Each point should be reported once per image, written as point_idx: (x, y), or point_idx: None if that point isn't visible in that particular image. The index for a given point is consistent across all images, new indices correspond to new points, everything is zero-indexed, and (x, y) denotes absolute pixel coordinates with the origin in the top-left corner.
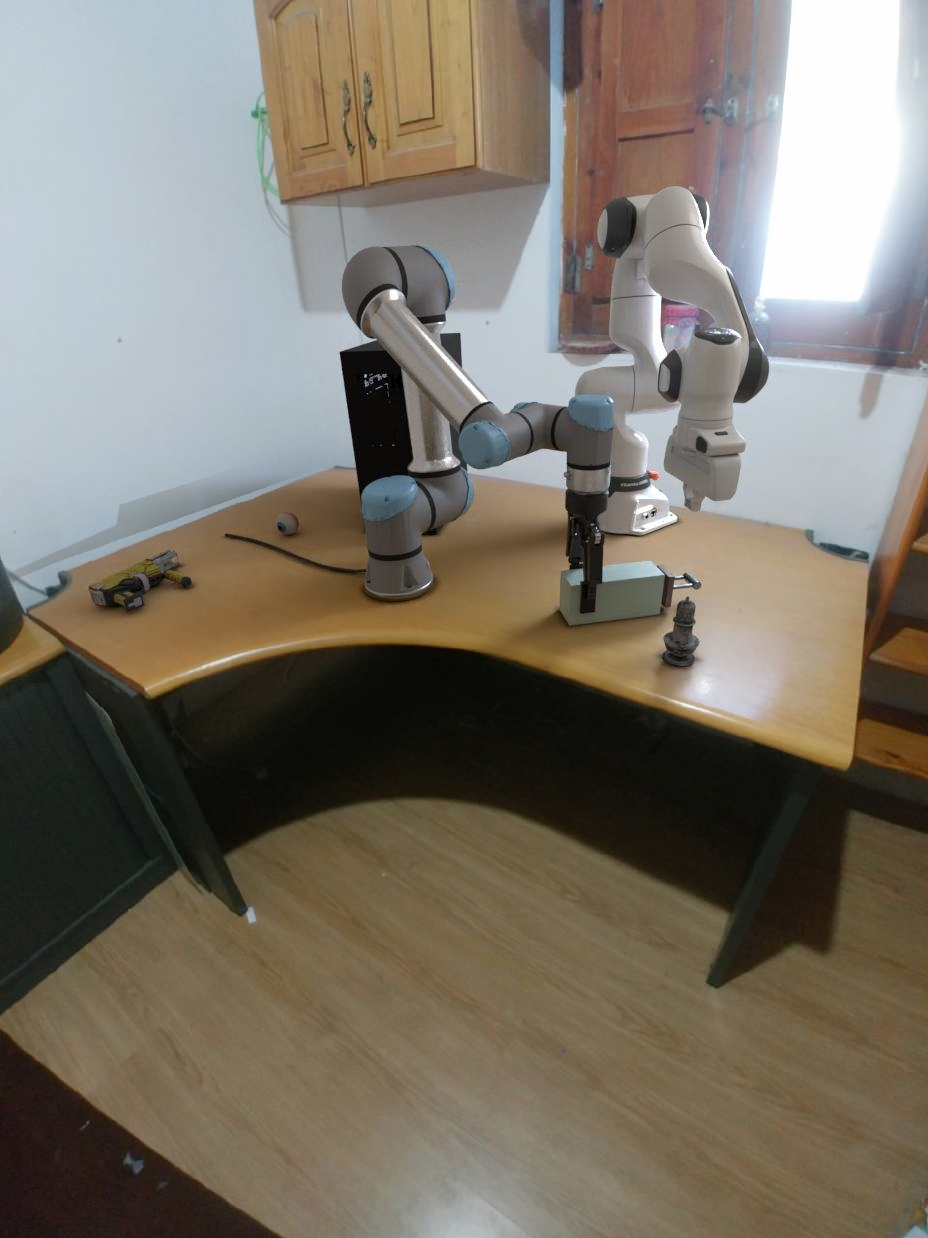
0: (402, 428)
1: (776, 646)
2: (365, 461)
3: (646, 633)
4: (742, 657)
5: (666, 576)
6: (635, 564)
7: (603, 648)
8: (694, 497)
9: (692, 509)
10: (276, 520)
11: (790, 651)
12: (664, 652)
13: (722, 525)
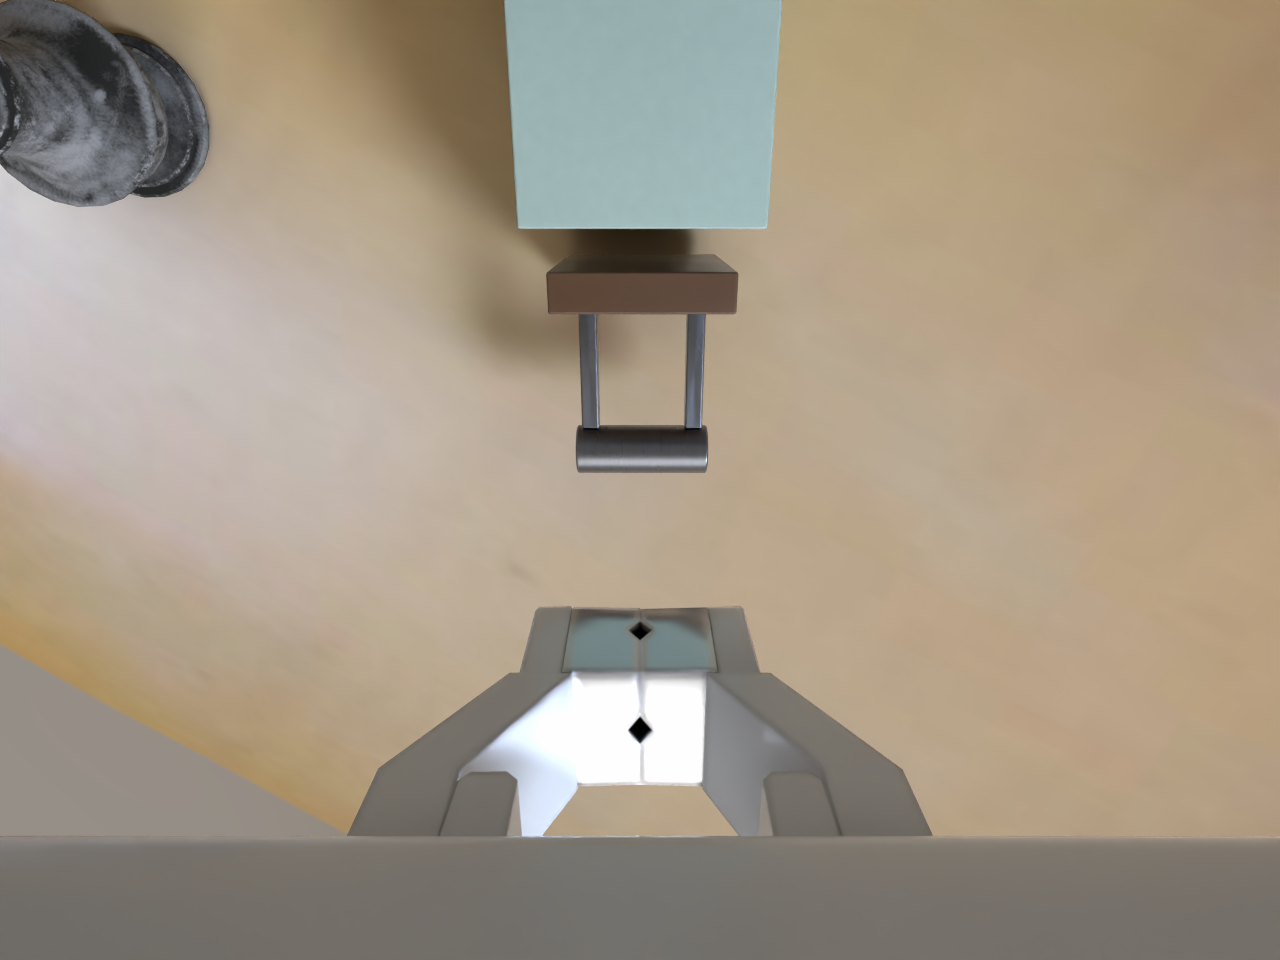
0: None
1: (235, 559)
2: None
3: (378, 58)
4: (153, 401)
5: (581, 270)
6: (733, 79)
7: None
8: (440, 734)
9: (534, 623)
10: None
11: (198, 584)
12: (165, 59)
13: None
